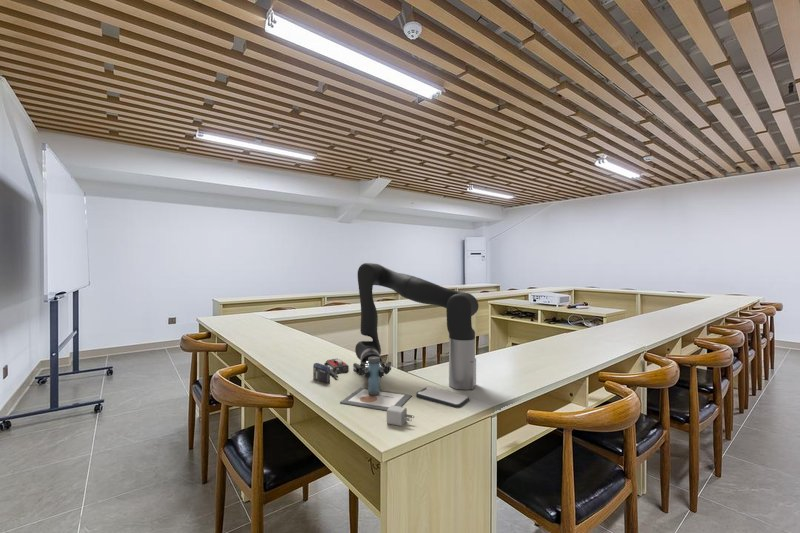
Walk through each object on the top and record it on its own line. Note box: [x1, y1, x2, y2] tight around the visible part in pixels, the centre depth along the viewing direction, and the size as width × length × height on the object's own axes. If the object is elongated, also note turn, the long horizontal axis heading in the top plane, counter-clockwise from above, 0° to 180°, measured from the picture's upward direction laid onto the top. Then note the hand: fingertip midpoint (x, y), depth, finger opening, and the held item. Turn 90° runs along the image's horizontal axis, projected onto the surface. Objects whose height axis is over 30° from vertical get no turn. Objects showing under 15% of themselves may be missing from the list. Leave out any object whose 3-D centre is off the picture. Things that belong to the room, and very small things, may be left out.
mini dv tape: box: [312, 362, 331, 385], centre depth 133 cm, size 8×2×6 cm, turn 49°
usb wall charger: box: [386, 405, 415, 427], centre depth 98 cm, size 4×7×4 cm, turn 67°
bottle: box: [367, 356, 380, 396], centre depth 117 cm, size 4×4×12 cm
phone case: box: [415, 386, 470, 409], centre depth 116 cm, size 9×2×16 cm
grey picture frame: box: [339, 387, 413, 412], centre depth 115 cm, size 19×14×1 cm
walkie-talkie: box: [323, 357, 349, 379], centre depth 145 cm, size 9×4×20 cm
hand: (374, 375), depth 114 cm, fingers closed on bottle, 3 cm apart
